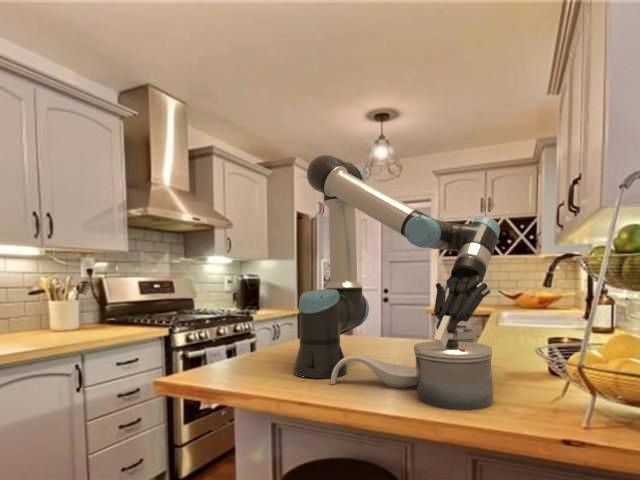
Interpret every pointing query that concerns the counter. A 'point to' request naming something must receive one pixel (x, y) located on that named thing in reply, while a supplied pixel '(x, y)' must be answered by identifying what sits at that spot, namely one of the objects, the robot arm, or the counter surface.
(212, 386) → the counter surface
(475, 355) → the lid
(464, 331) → the food container
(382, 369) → the spoon rest
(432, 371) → the cooker pot
